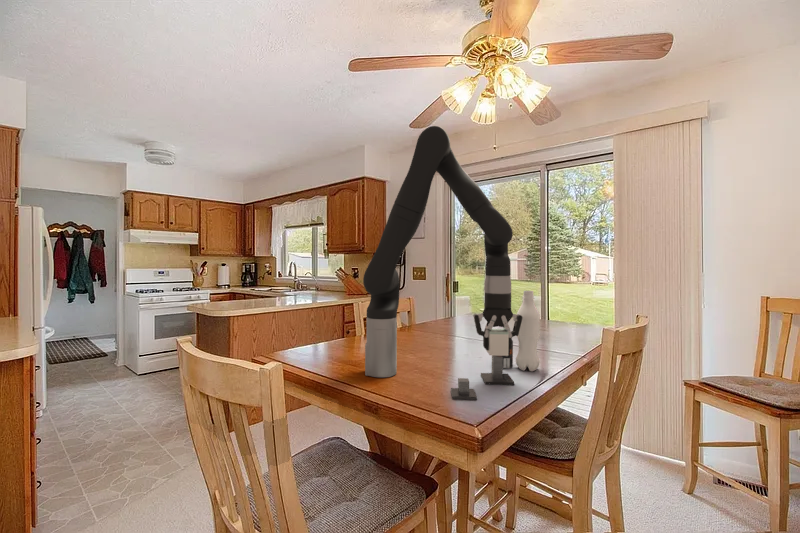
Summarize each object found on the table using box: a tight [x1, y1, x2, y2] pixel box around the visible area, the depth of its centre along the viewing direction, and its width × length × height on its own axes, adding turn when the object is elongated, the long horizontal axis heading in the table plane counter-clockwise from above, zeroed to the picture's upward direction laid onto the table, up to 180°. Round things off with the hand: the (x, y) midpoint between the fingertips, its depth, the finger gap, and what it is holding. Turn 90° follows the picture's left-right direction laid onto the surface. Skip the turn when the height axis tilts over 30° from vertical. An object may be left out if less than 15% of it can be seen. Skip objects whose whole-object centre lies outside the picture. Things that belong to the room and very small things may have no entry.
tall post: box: [480, 355, 515, 386], centre depth 108 cm, size 8×8×7 cm
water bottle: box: [515, 290, 541, 372], centre depth 120 cm, size 7×7×25 cm
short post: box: [450, 377, 478, 401], centre depth 96 cm, size 6×6×4 cm
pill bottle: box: [502, 339, 514, 369], centre depth 123 cm, size 6×6×11 cm
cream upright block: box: [486, 328, 509, 356], centre depth 108 cm, size 5×5×7 cm
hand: (497, 349), depth 108 cm, fingers closed on cream upright block, 5 cm apart
